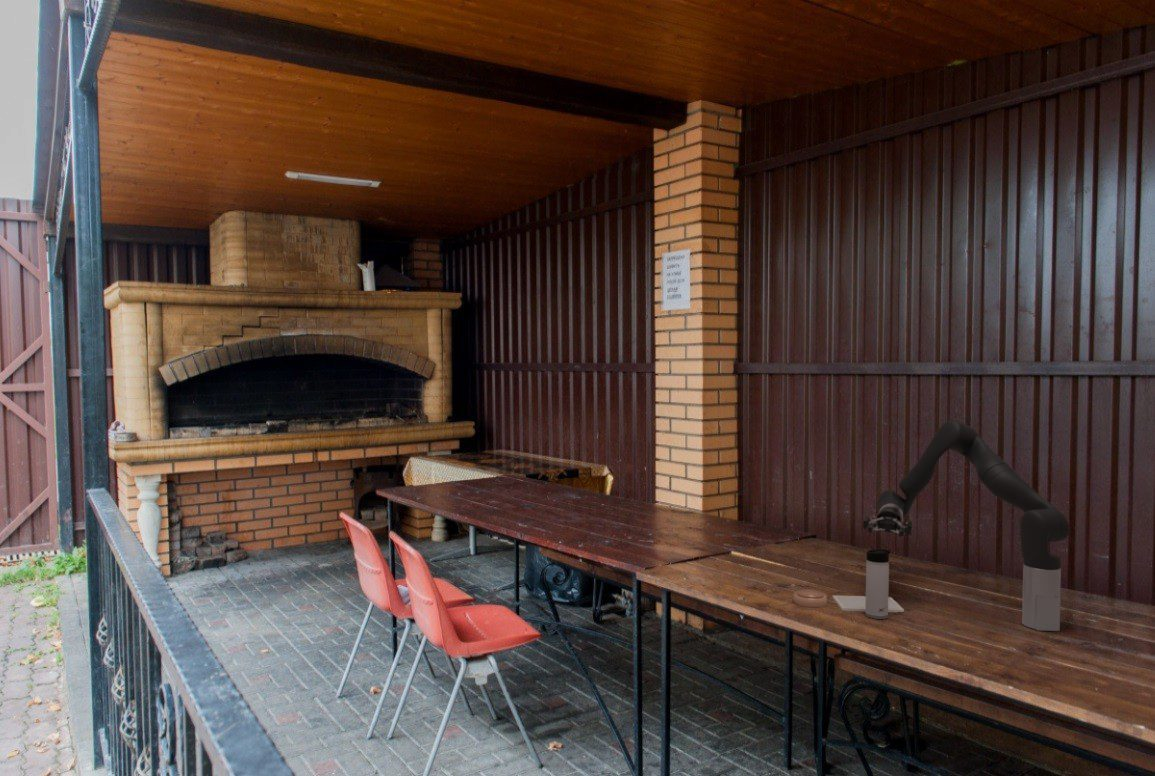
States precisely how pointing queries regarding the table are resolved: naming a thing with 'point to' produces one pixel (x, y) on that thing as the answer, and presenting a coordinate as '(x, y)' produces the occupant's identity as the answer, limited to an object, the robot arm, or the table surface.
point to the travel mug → (877, 583)
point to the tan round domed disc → (810, 598)
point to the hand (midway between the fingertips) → (885, 532)
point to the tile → (862, 603)
